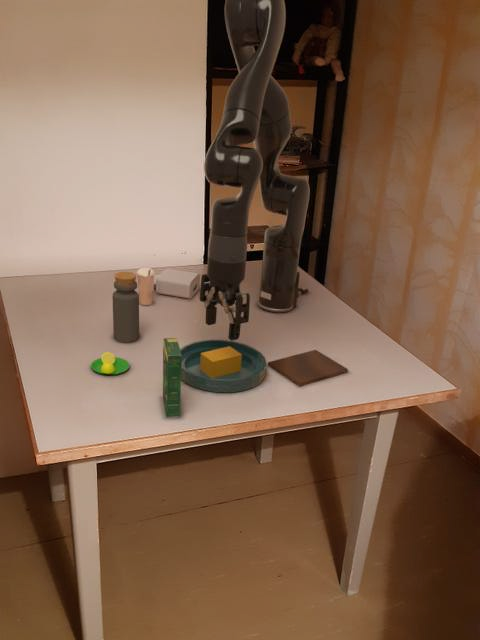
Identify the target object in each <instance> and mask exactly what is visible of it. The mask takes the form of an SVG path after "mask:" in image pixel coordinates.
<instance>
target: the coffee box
mask: <svg viewBox="0 0 480 640" xmlns="http://www.w3.org/2000/svg"><path fill="white" fill-rule="evenodd" d="M180 349H181V348H180V344H179V341H178V338H177V337H165V338H163V339H162V401H163V406H164V413H165V418H166V419H167V418H168V419H174V418H179V417H181V395H182V393H181V392H182V391H181V390H182V389H181V388H182V380H181V367H182V354H181V351H180Z"/></svg>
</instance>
